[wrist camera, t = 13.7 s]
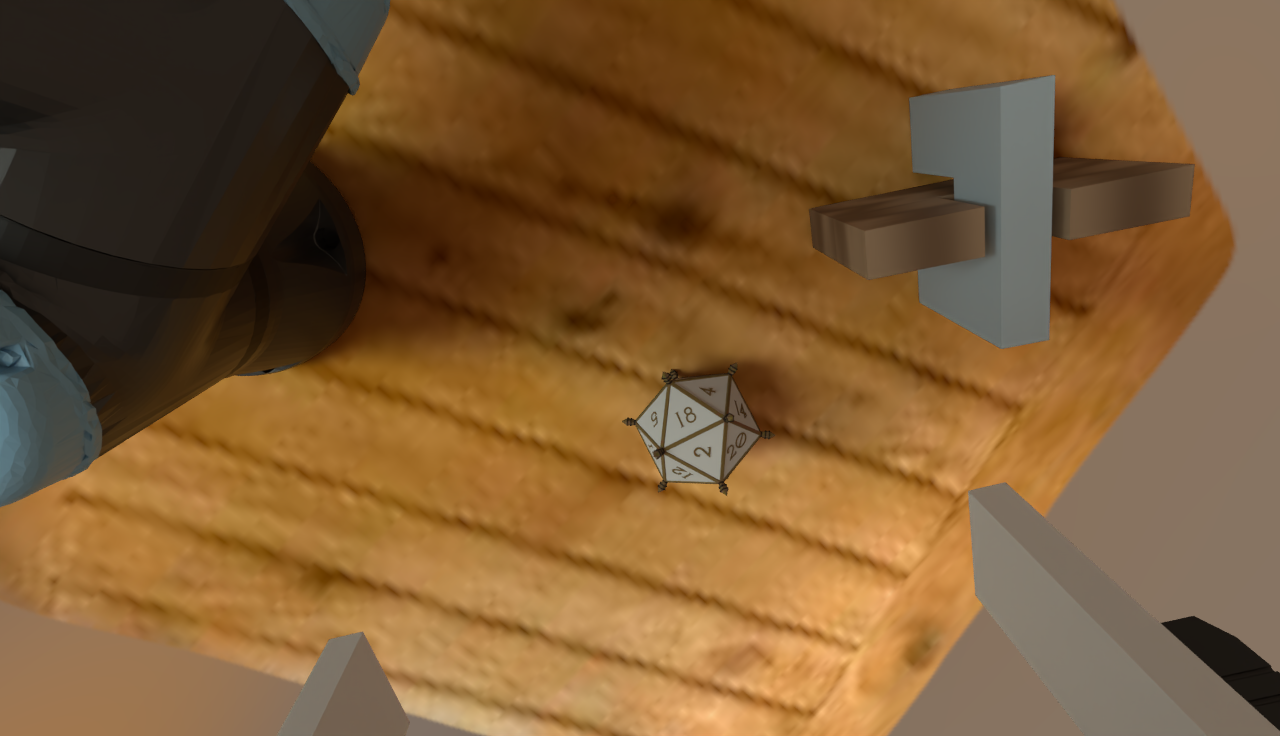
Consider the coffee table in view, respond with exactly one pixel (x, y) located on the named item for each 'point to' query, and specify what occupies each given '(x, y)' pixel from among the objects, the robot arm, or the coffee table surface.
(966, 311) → the cross plank
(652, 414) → the game die
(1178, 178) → the base plank
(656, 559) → the coffee table surface
